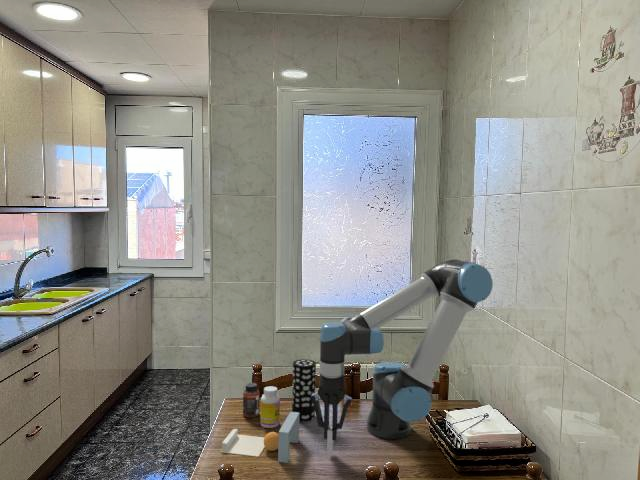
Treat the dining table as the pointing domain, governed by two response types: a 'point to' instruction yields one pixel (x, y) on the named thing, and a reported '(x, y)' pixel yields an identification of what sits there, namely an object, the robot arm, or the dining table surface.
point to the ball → (271, 441)
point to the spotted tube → (303, 388)
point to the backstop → (229, 439)
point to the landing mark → (246, 446)
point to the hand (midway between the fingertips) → (330, 449)
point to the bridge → (288, 436)
